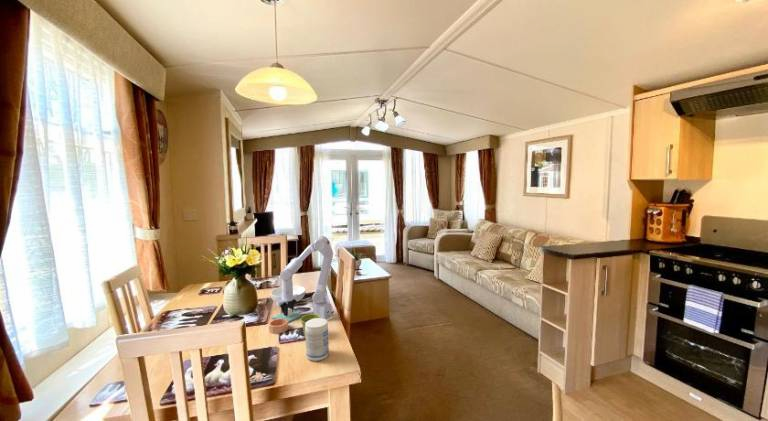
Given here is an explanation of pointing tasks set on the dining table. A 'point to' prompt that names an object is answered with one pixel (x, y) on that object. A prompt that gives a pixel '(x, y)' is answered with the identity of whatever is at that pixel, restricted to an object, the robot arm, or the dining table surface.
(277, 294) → the serving bowl
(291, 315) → the cover sheet
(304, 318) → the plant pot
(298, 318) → the mat
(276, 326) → the bowl
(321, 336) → the supplement tub
